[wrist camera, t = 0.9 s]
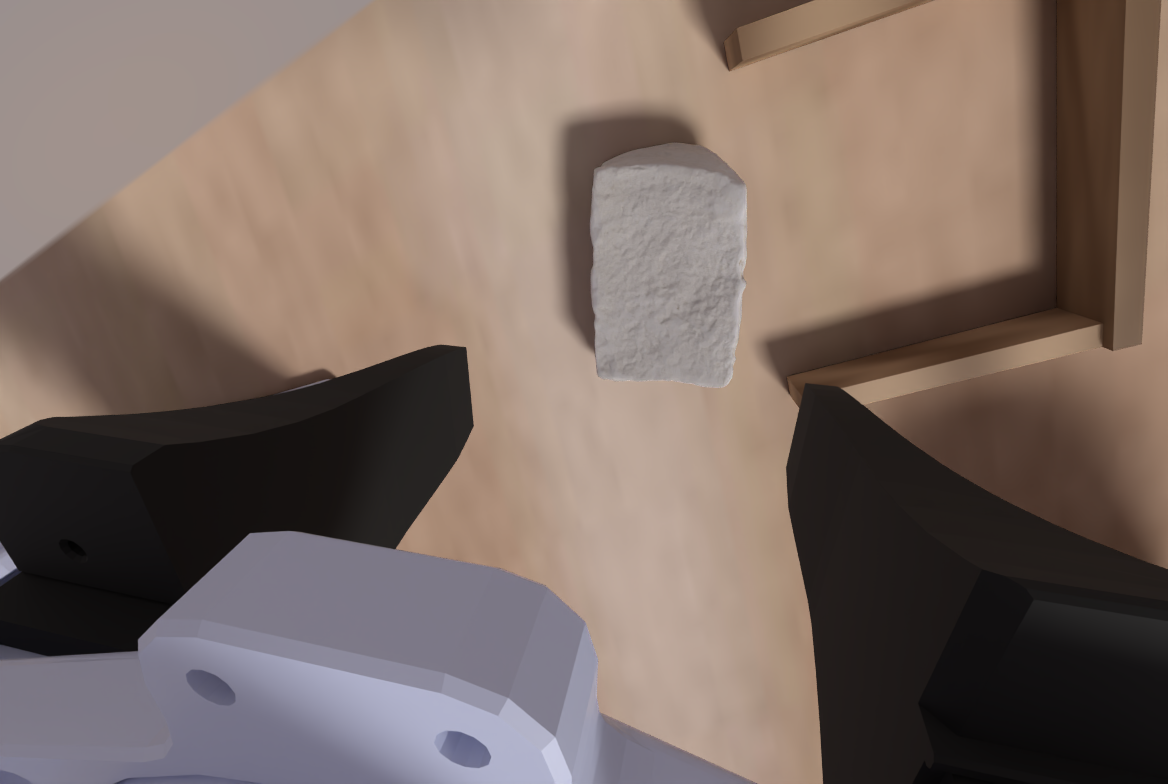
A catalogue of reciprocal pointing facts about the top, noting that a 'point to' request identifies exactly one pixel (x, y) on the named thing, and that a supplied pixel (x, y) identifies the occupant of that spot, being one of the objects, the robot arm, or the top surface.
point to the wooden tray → (1084, 195)
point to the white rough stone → (667, 265)
